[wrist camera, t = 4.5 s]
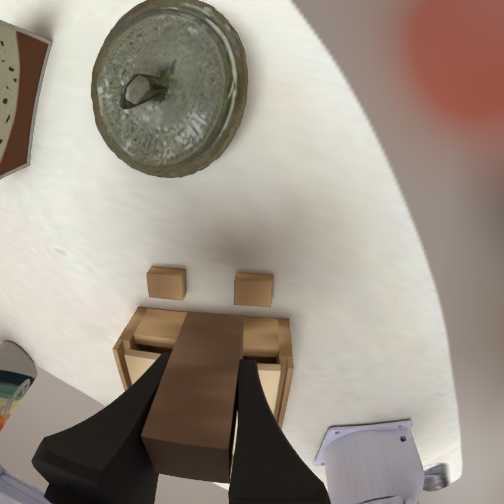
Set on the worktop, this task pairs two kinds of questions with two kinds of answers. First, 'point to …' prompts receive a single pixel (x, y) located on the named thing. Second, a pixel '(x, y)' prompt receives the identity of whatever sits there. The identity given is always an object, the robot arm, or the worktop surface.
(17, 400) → the lotion bottle
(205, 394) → the walnut key
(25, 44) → the food container
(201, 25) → the grey small piece
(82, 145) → the worktop surface
